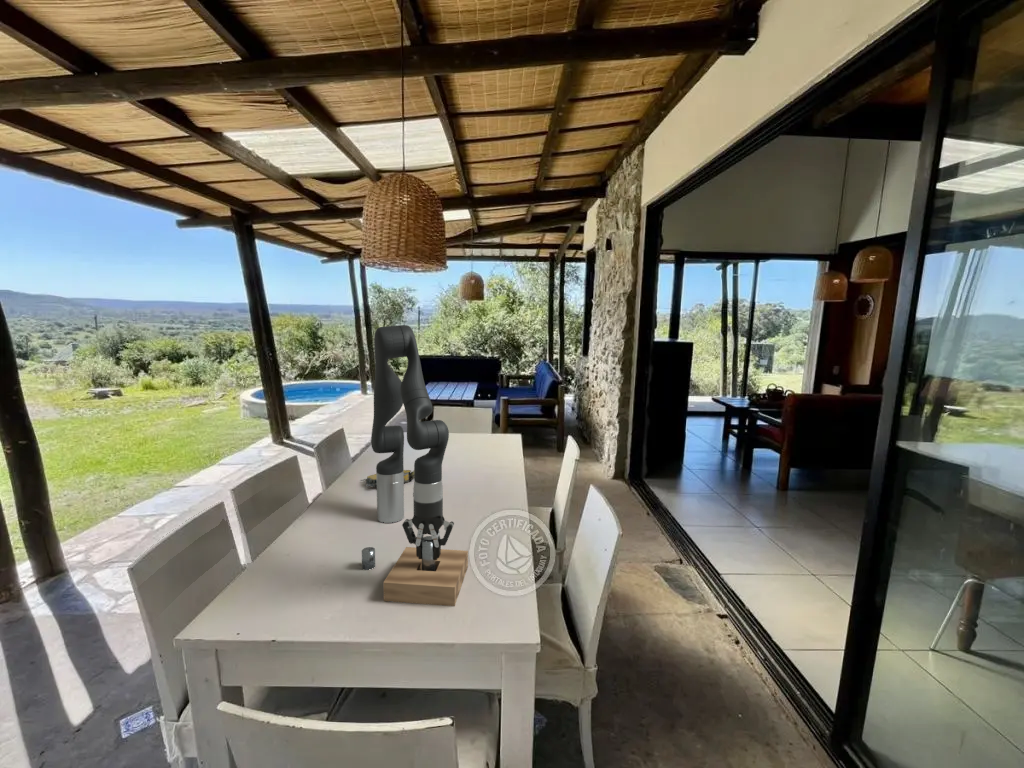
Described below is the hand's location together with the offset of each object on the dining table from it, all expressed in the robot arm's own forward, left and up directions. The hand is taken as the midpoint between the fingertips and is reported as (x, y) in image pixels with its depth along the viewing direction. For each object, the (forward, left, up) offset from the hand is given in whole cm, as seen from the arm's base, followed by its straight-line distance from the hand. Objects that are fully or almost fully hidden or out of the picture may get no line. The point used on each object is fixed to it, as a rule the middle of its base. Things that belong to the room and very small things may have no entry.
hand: (428, 557), depth 119 cm
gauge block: (0, 0, -7) cm, 7 cm away
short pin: (-6, -19, -7) cm, 21 cm away
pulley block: (-73, -33, -8) cm, 81 cm away
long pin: (0, 0, -6) cm, 6 cm away
